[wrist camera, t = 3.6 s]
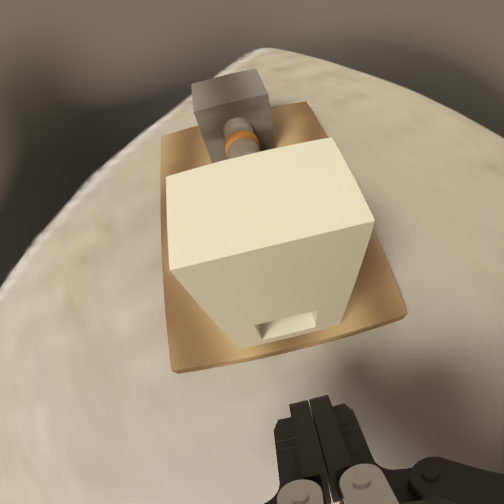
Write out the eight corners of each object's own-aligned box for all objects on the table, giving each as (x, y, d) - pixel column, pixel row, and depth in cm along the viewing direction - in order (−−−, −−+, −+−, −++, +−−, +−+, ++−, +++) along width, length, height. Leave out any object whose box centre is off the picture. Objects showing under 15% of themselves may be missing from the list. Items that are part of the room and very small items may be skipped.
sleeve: (322, 268, 21) (331, 137, 11) (339, 324, 19) (375, 220, 9) (228, 291, 21) (165, 176, 11) (238, 349, 19) (169, 270, 9)
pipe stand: (306, 110, 32) (303, 54, 26) (402, 319, 20) (440, 275, 14) (164, 144, 33) (141, 93, 26) (178, 373, 20) (126, 351, 14)
